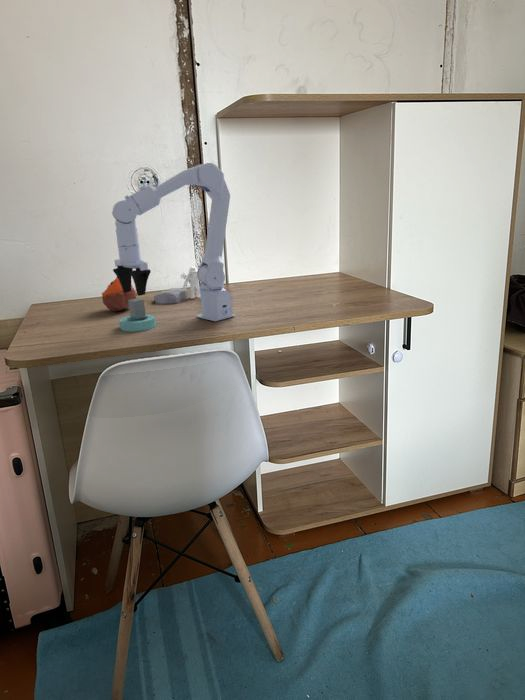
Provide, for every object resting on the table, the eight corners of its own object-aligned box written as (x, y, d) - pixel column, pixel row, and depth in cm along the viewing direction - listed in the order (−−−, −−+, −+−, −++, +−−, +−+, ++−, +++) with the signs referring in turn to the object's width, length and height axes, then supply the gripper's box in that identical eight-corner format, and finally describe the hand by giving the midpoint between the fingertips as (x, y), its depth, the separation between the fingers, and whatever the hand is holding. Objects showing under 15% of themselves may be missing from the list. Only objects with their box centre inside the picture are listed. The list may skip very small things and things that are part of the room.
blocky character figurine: (207, 295, 196) (204, 262, 192) (208, 297, 192) (206, 263, 189) (182, 297, 194) (179, 264, 191) (183, 299, 191) (180, 265, 187)
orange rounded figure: (126, 315, 172) (122, 279, 169) (97, 314, 175) (92, 279, 172) (143, 306, 184) (139, 272, 180) (115, 306, 186) (111, 273, 183)
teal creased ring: (162, 325, 157) (161, 317, 156) (132, 333, 151) (131, 324, 150) (144, 320, 164) (143, 312, 163) (114, 327, 158) (113, 319, 157)
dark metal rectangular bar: (146, 326, 157) (143, 299, 155) (137, 328, 155) (133, 301, 153) (141, 324, 160) (137, 298, 157) (131, 327, 158) (128, 300, 155)
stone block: (153, 309, 187) (180, 303, 185) (149, 296, 186) (176, 289, 184) (165, 302, 198) (190, 297, 196) (161, 290, 197) (187, 284, 195)
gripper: (102, 245, 153) (109, 292, 157) (129, 248, 143) (135, 299, 147) (124, 242, 157) (130, 288, 161) (152, 245, 147) (157, 294, 151)
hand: (134, 293), depth 154 cm, fingers open, 7 cm apart
